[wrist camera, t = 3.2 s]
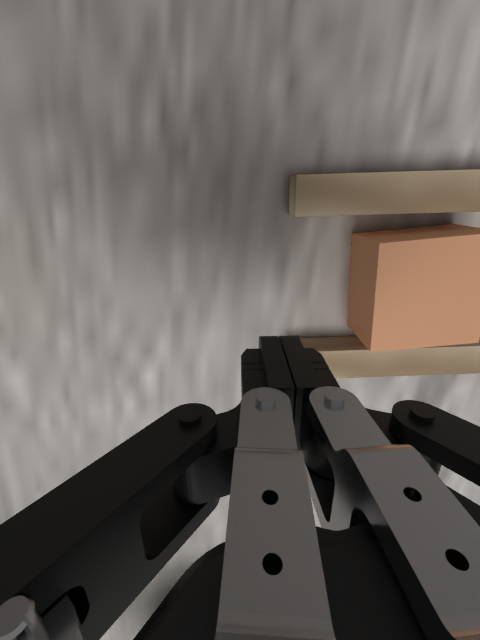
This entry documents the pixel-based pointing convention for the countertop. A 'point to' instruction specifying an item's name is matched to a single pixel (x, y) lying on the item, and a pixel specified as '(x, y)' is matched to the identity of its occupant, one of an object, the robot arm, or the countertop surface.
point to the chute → (388, 198)
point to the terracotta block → (415, 287)
